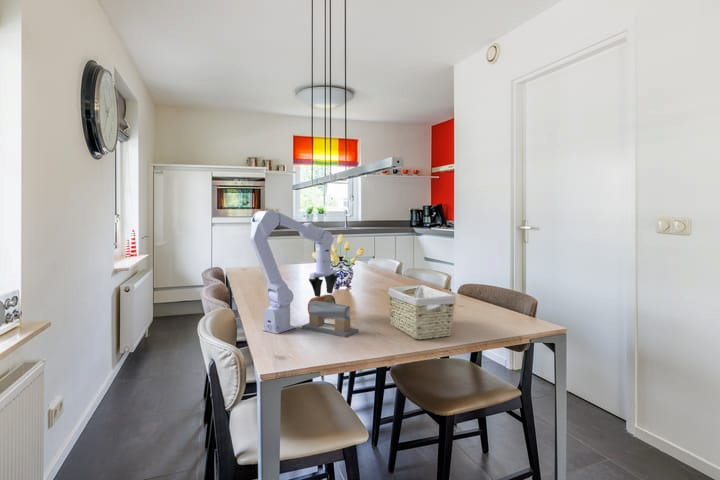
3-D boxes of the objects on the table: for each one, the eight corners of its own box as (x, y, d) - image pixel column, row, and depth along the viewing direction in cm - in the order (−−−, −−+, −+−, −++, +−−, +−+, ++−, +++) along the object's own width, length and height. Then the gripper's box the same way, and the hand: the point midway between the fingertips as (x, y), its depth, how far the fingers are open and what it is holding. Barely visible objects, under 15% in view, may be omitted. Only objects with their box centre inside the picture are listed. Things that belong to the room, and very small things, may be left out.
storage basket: (386, 324, 154) (386, 286, 153) (423, 320, 159) (423, 283, 158) (415, 342, 131) (415, 298, 130) (457, 337, 137) (457, 295, 136)
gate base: (345, 337, 136) (345, 323, 136) (301, 328, 148) (301, 314, 147) (358, 331, 143) (358, 318, 143) (315, 323, 154) (315, 310, 154)
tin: (311, 319, 160) (311, 299, 159) (306, 318, 162) (306, 298, 161) (336, 312, 172) (336, 293, 171) (330, 311, 174) (330, 292, 173)
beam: (344, 320, 139) (344, 308, 139) (309, 314, 148) (309, 302, 148) (349, 318, 142) (349, 306, 142) (315, 312, 151) (315, 300, 151)
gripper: (319, 263, 149) (319, 299, 150) (342, 259, 161) (342, 292, 162) (305, 262, 153) (305, 296, 153) (328, 258, 165) (329, 291, 165)
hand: (323, 294), depth 158 cm, fingers open, 7 cm apart
